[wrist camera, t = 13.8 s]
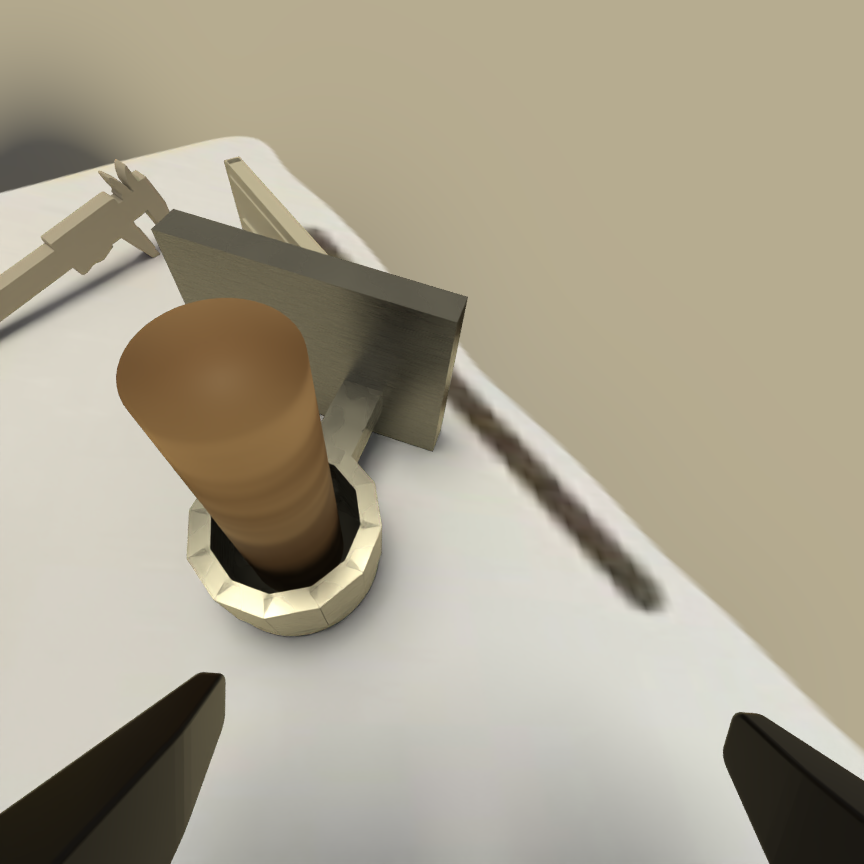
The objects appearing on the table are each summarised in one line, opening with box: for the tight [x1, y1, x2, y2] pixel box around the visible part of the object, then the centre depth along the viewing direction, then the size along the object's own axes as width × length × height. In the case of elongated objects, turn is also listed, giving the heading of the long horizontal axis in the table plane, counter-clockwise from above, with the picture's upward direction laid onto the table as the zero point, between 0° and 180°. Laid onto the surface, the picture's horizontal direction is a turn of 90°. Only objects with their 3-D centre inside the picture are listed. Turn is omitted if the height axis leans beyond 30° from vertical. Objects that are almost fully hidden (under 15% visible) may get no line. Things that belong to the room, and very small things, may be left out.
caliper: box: [0, 159, 169, 322], centre depth 27 cm, size 20×1×6 cm, turn 143°
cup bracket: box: [151, 209, 468, 636], centre depth 20 cm, size 13×13×10 cm
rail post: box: [116, 298, 344, 592], centre depth 16 cm, size 4×4×13 cm
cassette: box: [224, 157, 327, 255], centre depth 28 cm, size 12×2×8 cm, turn 37°
